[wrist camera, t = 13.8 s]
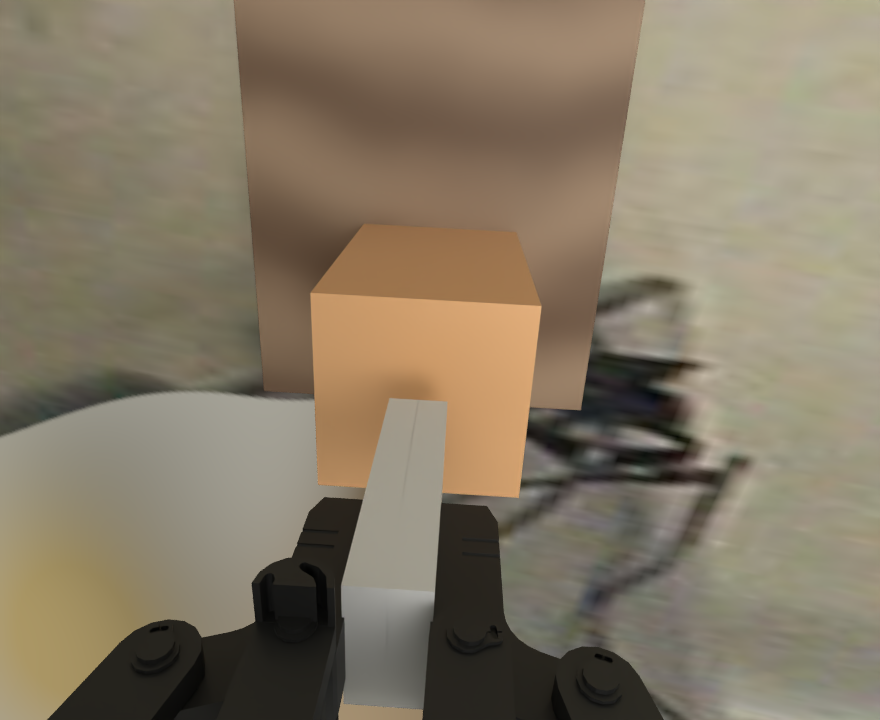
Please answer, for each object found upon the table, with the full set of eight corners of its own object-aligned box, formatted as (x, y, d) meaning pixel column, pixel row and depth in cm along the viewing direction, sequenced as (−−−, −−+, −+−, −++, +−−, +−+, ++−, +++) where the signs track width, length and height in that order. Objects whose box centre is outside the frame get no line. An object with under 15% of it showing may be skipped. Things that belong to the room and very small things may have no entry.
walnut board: (222, -341, 20) (205, -373, 19) (685, -323, 20) (701, -355, 18) (273, 377, 31) (264, 390, 29) (575, 395, 30) (580, 410, 29)
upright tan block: (363, 223, 26) (310, 292, 17) (516, 231, 26) (541, 306, 17) (364, 362, 28) (318, 485, 20) (503, 371, 28) (518, 497, 20)
